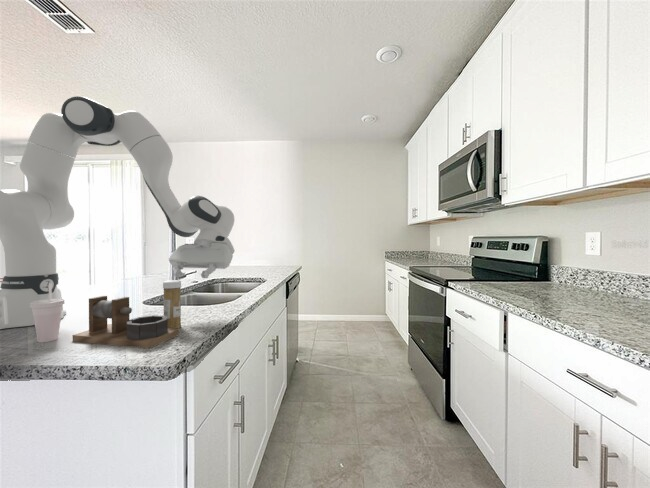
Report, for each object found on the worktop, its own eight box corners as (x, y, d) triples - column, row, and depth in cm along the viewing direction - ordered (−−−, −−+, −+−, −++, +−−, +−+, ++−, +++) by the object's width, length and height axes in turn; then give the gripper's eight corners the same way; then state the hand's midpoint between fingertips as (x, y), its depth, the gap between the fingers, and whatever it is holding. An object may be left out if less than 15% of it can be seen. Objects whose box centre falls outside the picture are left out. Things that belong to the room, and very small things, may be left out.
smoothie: (71, 337, 77) (70, 282, 77) (40, 345, 71) (39, 286, 71) (54, 334, 79) (54, 281, 79) (23, 342, 73) (23, 284, 73)
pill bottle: (182, 328, 85) (182, 281, 85) (164, 331, 82) (163, 282, 82) (179, 324, 89) (179, 279, 88) (162, 327, 86) (162, 280, 86)
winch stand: (72, 341, 74) (72, 300, 74) (109, 329, 84) (109, 293, 84) (149, 348, 69) (148, 305, 69) (178, 335, 79) (178, 297, 79)
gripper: (177, 237, 102) (155, 269, 93) (232, 237, 98) (215, 270, 89) (186, 250, 107) (166, 281, 97) (239, 251, 102) (223, 283, 93)
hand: (190, 276), depth 93 cm, fingers open, 8 cm apart
